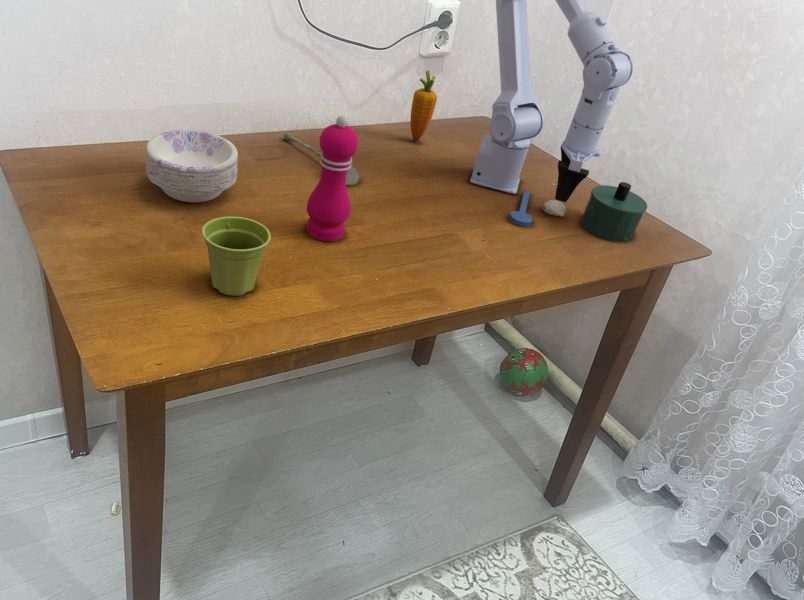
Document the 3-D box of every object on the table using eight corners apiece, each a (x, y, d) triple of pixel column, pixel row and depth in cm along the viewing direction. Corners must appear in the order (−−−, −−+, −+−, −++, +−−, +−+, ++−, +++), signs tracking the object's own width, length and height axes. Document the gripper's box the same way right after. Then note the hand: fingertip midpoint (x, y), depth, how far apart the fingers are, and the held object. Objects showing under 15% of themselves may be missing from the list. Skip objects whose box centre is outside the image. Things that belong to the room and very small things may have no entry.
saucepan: (580, 232, 134) (592, 204, 130) (582, 210, 142) (593, 183, 138) (632, 246, 133) (645, 218, 129) (631, 224, 140) (643, 197, 137)
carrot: (425, 148, 155) (441, 78, 145) (402, 143, 155) (417, 73, 146) (427, 140, 159) (443, 72, 149) (405, 135, 159) (420, 66, 150)
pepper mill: (351, 229, 122) (372, 115, 109) (337, 247, 116) (357, 129, 104) (312, 217, 123) (328, 103, 111) (297, 235, 118) (312, 117, 105)
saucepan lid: (589, 207, 131) (597, 188, 128) (590, 185, 139) (597, 167, 136) (646, 222, 129) (655, 203, 127) (644, 199, 137) (652, 181, 135)
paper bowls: (157, 214, 116) (157, 169, 111) (138, 172, 126) (137, 129, 121) (247, 208, 122) (250, 165, 117) (221, 168, 132) (223, 127, 127)
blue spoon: (507, 222, 133) (509, 218, 132) (515, 192, 144) (517, 187, 143) (529, 228, 132) (531, 224, 131) (536, 197, 143) (537, 193, 143)
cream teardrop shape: (555, 208, 141) (560, 197, 139) (570, 221, 137) (574, 209, 136) (537, 209, 139) (542, 197, 138) (551, 222, 136) (556, 210, 134)
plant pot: (202, 264, 107) (204, 212, 101) (265, 269, 108) (270, 219, 103) (197, 300, 99) (199, 246, 94) (265, 305, 101) (270, 253, 95)
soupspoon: (338, 191, 134) (364, 187, 138) (341, 175, 132) (368, 171, 135) (273, 140, 145) (299, 137, 149) (275, 124, 143) (301, 122, 147)
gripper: (610, 142, 121) (581, 213, 129) (610, 116, 132) (583, 183, 140) (569, 132, 122) (543, 203, 130) (572, 106, 133) (548, 173, 141)
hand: (561, 192), depth 135 cm, fingers open, 7 cm apart
